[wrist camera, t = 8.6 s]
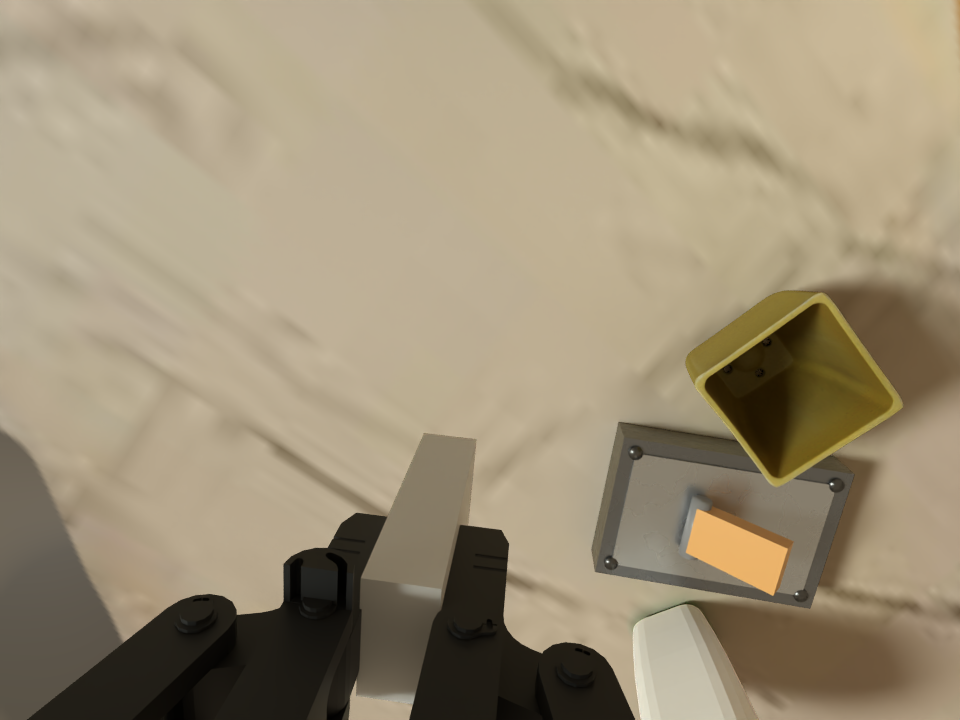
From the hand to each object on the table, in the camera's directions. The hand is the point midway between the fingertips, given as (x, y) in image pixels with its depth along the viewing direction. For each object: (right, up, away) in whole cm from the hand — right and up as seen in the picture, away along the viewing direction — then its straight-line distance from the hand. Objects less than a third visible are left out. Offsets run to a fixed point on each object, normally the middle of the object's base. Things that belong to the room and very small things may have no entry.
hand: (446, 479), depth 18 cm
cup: (+17, -19, +33) cm, 42 cm away
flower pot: (+20, +4, +27) cm, 34 cm away
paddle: (+16, -8, +26) cm, 32 cm away
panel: (+18, -8, +30) cm, 36 cm away
